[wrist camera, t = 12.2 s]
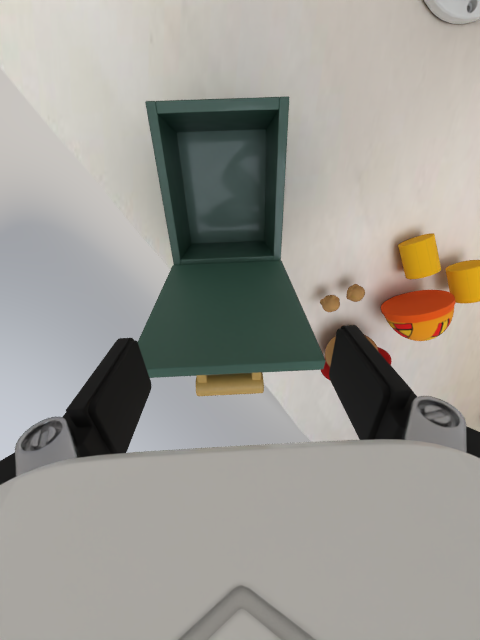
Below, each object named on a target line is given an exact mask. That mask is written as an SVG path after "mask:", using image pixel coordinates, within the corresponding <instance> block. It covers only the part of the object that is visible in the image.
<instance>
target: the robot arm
mask: <svg viewBox="0 0 480 640" xmlns="http://www.w3.org/2000/svg"><path fill="white" fill-rule="evenodd" d="M424 1H425V3H426V4H427V6H428V7H429V9H430V10H431V12H432V13H434V14H435V15H436V16H437V17H439V18H440V19H441V20H444V21H446V22H449V23H452V24H466V23H470V22H474V21H477V20H479V19H480V0H424ZM329 377H330V380H331V383H332V385H333V387H334V389H335V391H336V393H337V395H338V397H339V399H340V401H341V403H342V405H343V407H344V409H345V411H346V413H347V415H348V417H349V419H350V421H351V423H352V425H353V427H354V429H355V431H356V433H357V435H358V437H359V439H360V440H344V441H323V442H305V443H285V444H265V445H250V446H249V445H248V446H230V447H212V448H195V449H181V450H180V449H179V450H163V451H147V452H133V453H126V451H127V449H128V447H129V444H130V441H131V439H132V436H133V434H134V431H135V429H136V426H137V424H138V421H139V418H140V416H141V413H142V411H143V408H144V406H145V403H146V401H147V398H148V396H149V393H150V390H151V381H150V378H149V375H148V372H147V369H146V366H145V363H144V360H143V357H142V354H141V351H140V348H139V345H138V342H137V341H134V340H133V339H132V338H120V339H118V340H117V341H116V342H115V344H114V345H113V346H112V348H111V349H110V350H109V352H108V353H107V355H106V356H105V357H104V359H103V360H102V361H101V363H100V364H99V366H98V367H97V368H96V370H95V371H94V373H93V374H92V375H91V376H90V378H89V379H88V381H87V382H86V383H85V385H84V386H83V387H82V389H81V390H80V392H79V393H78V394H77V396H76V397H75V398H74V400H73V401H72V403H71V404H70V405H69V407H68V408H67V409H66V411H67V412H66V413H65V415H64V416H63V417H51V418H48V419H45V420H42V421H40V422H38V423H37V424H35V425H33V426H32V427H30V428H29V429H28V430H27V431H25V433H24V434H23V435H22V436H21V437H20V438H19V440H18V442H17V443H16V447H15V453H13V454H12V455H10V456H8V457H6V458H5V459H3V460H1V461H0V640H480V432H478V431H476V430H473V429H471V428H469V427H467V426H466V422H465V418H464V417H463V415H462V414H461V413H460V412H459V411H458V410H457V409H456V408H455V407H454V406H452V405H450V404H449V403H447V402H445V401H443V400H441V399H438V398H435V397H431V396H419V397H417V396H416V395H415V394H414V392H413V391H412V390H411V389H410V387H409V386H408V385H407V384H406V383H405V382H404V380H403V379H402V378H401V377H400V376H399V375H398V373H397V372H396V371H395V370H394V369H393V368H392V367H391V365H390V364H389V363H388V362H387V361H386V360H385V358H384V357H383V356H382V355H381V354H380V353H379V351H378V350H377V349H376V348H375V347H374V346H373V345H372V343H371V342H370V341H369V340H368V339H367V338H366V336H365V335H364V334H363V333H362V332H361V331H360V329H359V328H358V327H357V326H356V325H349V326H342V327H341V329H338V330H337V333H336V338H335V344H334V349H333V354H332V360H331V365H330V370H329Z"/></svg>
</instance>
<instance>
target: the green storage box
mask: <svg viewBox="0 0 480 640" xmlns="http://www.w3.org/2000/svg"><path fill="white" fill-rule="evenodd" d="M145 103H146V108H147V114H148V120H149V125H150V131H151V137H152V142H153V148H154V154H155V160H156V165H157V171H158V177H159V182H160V188H161V194H162V200H163V205H164V211H165V217H166V222H167V228H168V234H169V239H170V245H171V251H172V257H173V262H174V265H192V264H216V263H240V262H263V261H281V243H282V224H283V205H284V186H285V168H286V149H287V130H288V111H289V97H264V98H234V99H203V100H173V101H156V102H155V101H146V102H145Z"/></svg>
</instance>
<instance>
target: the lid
mask: <svg viewBox="0 0 480 640" xmlns="http://www.w3.org/2000/svg"><path fill="white" fill-rule="evenodd" d="M138 345H139V348H140V351H141V354H142V357H143V360H144V363H145V366H146V369H147V372H148V375H149V378H154V377H173V376H174V377H175V376H197V377H196V394H197V396H212V395H232V394H253V393H263V391H264V384H263V374H262V372H279V371H299V370H320V369H324V365H325V361H326V360H325V358H324V356H323V353H322V351H321V349H320V347H319V344H318V342H317V340H316V338H315V335H314V333H313V331H312V329H311V326H310V324H309V322H308V320H307V317H306V315H305V313H304V311H303V308H302V306H301V304H300V302H299V299H298V297H297V295H296V293H295V290H294V288H293V286H292V284H291V281H290V279H289V277H288V275H287V272H286V270H285V268H284V266H283V263H282V261H263V262H240V263H216V264H192V265H173V266H172V268H171V271H170V273H169V275H168V277H167V279H166V281H165V284H164V286H163V289H162V290H161V293H160V295H159V297H158V299H157V301H156V303H155V306H154V308H153V310H152V312H151V314H150V317H149V319H148V321H147V323H146V325H145V328H144V330H143V332H142V334H141V336H140V338H139V341H138Z"/></svg>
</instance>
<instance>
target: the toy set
mask: <svg viewBox="0 0 480 640" xmlns="http://www.w3.org/2000/svg"><path fill="white" fill-rule="evenodd" d="M398 247H399V251H400V255H401V260H402V264H403V268H404V272H405V276H406V278H407V279H418V278H424V277H427V276H431V275H433V274H436V273H438V272H439V271H440V270H441V266H440V261H439V256H438V251H437V246H436V241H435V236H434V234H425V235H421V236H417V237H414V238H411V239H408V240H406V241H404V242H402V243H400V244H399V245H398ZM445 270H446V275H447V280H448V285H449V290H450V292H447V291H441V290H421V291H414V292H408V293H404V294H401V295H398V296H395V297H392V298H390V299H388V300H387V301H385V302H384V303H383V304H382V305H381V311H382V313H383V314H384V316H385V318H386V320H387V322H388V323H389V325H390V326H391V327H392V328H393V329H394V330H395V331H396V332H397V333H398V334H400V335H401V336H403V337H405V338H408V339H411V340H415V341H426V340H430V339H433V338H435V337H437V336H439V335H440V334H442V333H443V332H444V331H445V330H446V329H447V327H448V326H449V324H450V322H451V320H452V317H453V313H454V305H455V302H456V303H474V302H479V301H480V260H470V261H463V262H459V263H455V264H453V265H450V266H448V267H447V268H446V269H445ZM364 295H365V290H364V289H363V288H362V287H361V286H359V285H357V284H354V285H353V286H350V287H349V288H348V290H347V299H349V300H351V301H354V302H357V301H360V300H361V299H362V298H363V297H364ZM320 303H321V305H322V307H323V309H324V310H325V311H327V312H332V311H336V310H337V309H338V308H339V306H340V302H339V298H338V297H336V296H335V295H330V296H329V295H328V296H326V297H325V298H324V299H322V300H320ZM365 336H366V335H365ZM335 338H336V336H335V337H334V338H332V339H331V340H330V342H329V343H328V344H327V347H326V350H325V360H326V361H325V365H324V369H321V372H322V374H323V375H324V376H325V377H326V378H327V379H329V380H330V377H329V370H330V365H331V360H332V354H333V349H334V344H335ZM366 338H367V339H368V340H369V341H370V342H371V343H372V345H373V346H374V347H375V348H376V349H377V350H378V351H379V353H380V354H381V355H382V356H383V357H384V358H385V360H386V361H387V362H388V363H389V364H390V365H391V357H390V355H389V354H388V353H387V352H386V351H385V350H383V349H381V348H379V347H377V346H376V344H375V343H374V341H373V340H372V339H370V338H369V337H368V336H366Z"/></svg>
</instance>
